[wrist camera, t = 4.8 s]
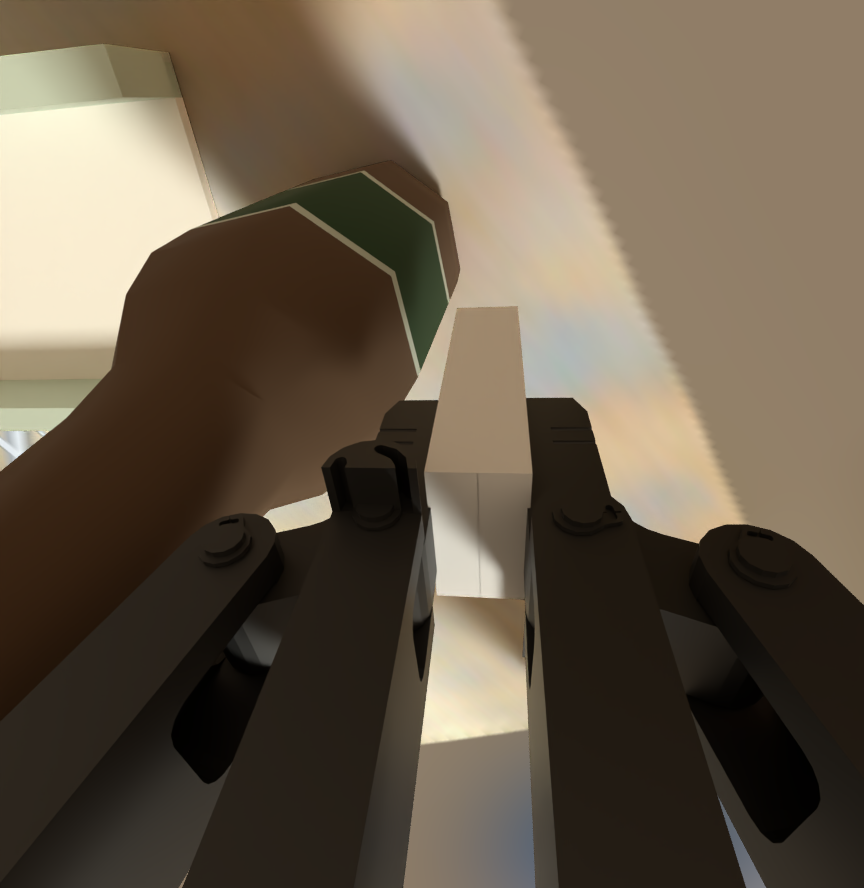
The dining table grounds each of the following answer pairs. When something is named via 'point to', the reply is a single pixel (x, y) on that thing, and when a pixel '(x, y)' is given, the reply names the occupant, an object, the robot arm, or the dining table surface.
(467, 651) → the dining table surface
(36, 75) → the rest
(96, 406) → the beer bottle
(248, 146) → the dining table surface
